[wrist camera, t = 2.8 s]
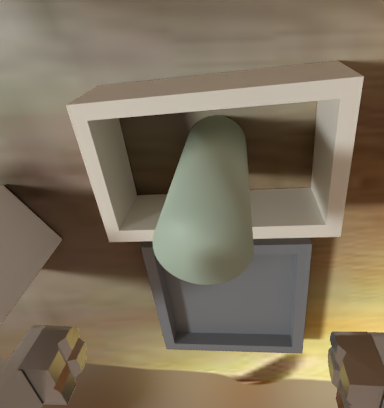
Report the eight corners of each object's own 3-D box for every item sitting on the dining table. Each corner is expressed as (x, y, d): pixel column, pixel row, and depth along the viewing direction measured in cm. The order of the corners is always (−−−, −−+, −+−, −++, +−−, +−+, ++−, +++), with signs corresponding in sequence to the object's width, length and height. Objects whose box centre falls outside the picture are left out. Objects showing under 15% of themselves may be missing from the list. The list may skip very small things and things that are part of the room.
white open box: (97, 85, 23) (66, 105, 19) (337, 60, 20) (364, 76, 16) (128, 205, 28) (109, 242, 24) (323, 197, 26) (340, 236, 21)
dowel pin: (183, 118, 23) (143, 207, 13) (245, 112, 23) (252, 203, 13) (190, 172, 26) (161, 284, 16) (247, 169, 25) (254, 284, 15)
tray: (146, 233, 29) (140, 247, 28) (307, 229, 27) (312, 244, 26) (170, 333, 37) (166, 349, 35) (299, 336, 34) (302, 353, 33)
